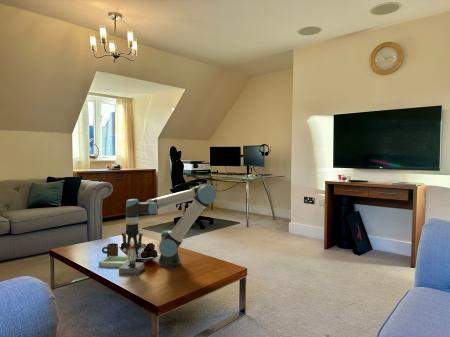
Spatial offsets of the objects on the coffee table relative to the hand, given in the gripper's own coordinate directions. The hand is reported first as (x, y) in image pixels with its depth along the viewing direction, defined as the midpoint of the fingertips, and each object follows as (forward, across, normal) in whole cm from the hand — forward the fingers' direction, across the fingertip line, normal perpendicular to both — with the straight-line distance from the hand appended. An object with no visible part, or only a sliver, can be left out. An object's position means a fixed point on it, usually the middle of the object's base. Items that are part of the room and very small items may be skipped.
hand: (132, 259), depth 199 cm
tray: (+8, +16, -12) cm, 22 cm away
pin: (+6, 0, 0) cm, 6 cm away
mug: (+8, +26, -23) cm, 36 cm away
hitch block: (+8, 0, 0) cm, 8 cm away
